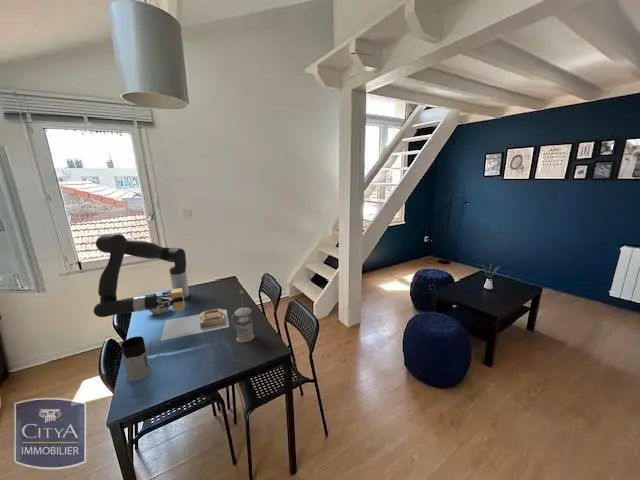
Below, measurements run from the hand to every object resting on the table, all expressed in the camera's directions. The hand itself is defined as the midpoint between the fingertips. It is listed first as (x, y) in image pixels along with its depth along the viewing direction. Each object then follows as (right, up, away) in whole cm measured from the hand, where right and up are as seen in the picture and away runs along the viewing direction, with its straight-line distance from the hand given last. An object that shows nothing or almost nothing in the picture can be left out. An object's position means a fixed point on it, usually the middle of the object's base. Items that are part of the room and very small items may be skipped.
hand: (183, 296), depth 143 cm
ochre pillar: (-2, -6, +1) cm, 7 cm away
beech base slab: (+12, -15, +9) cm, 21 cm away
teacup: (-23, -14, +18) cm, 32 cm away
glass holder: (-2, -26, -28) cm, 38 cm away
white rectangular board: (+4, -17, +6) cm, 18 cm away
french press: (+32, -19, -3) cm, 38 cm away
